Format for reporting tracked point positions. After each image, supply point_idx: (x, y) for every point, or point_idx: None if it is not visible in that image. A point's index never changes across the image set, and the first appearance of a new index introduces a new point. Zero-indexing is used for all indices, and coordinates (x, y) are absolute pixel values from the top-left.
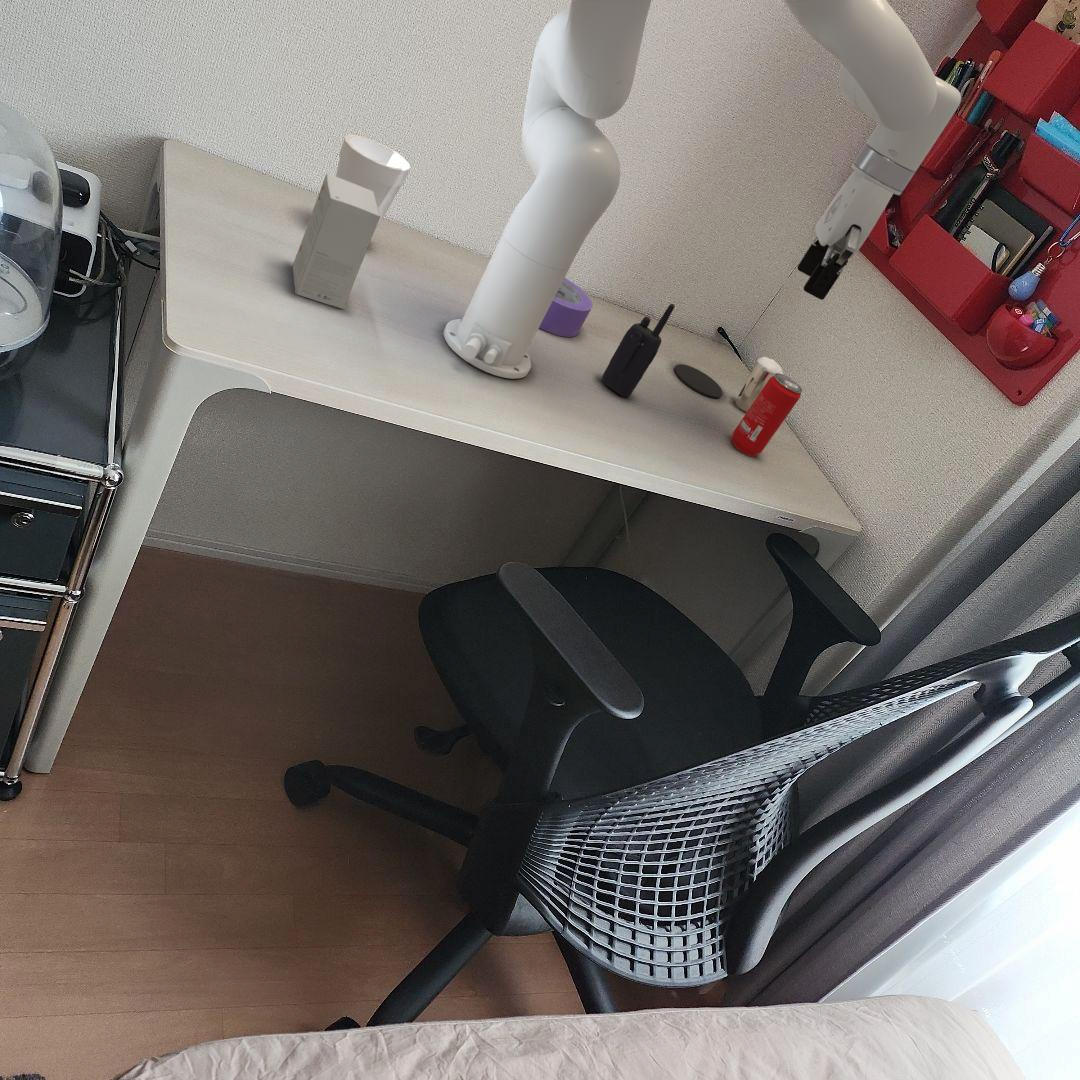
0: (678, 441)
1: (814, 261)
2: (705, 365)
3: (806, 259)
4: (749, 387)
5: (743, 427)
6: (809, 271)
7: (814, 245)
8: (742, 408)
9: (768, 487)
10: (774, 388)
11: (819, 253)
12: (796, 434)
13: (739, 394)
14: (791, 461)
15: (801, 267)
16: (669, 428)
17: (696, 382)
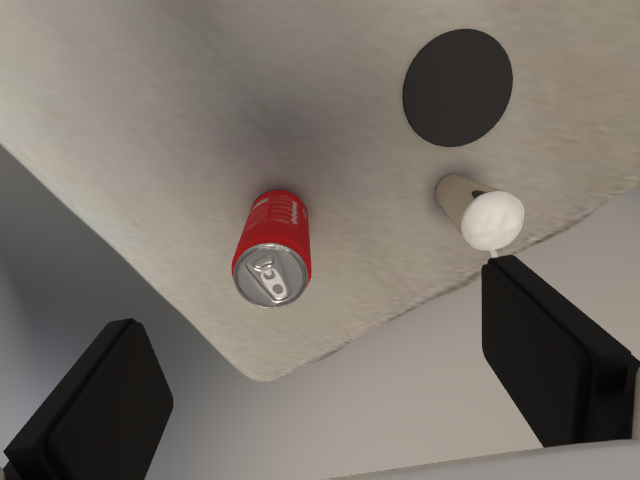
0: (134, 106)
1: (521, 359)
2: (571, 90)
3: (517, 308)
4: (453, 191)
5: (255, 205)
6: (489, 324)
7: (612, 375)
8: (436, 191)
9: (192, 266)
10: (237, 249)
11: (556, 405)
12: (461, 286)
13: (458, 177)
14: (340, 288)
15: (490, 279)
16: (161, 79)
17: (438, 88)
